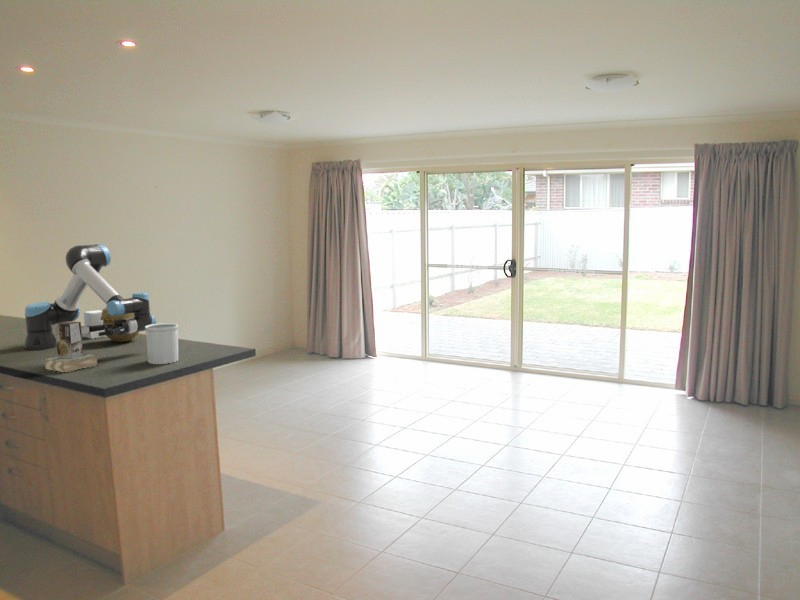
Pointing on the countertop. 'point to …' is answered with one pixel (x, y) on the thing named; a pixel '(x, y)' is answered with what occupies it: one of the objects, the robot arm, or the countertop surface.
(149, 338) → the utensil holder
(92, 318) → the white canister
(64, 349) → the coffee box
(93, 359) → the base block
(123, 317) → the clay pot
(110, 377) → the countertop surface
